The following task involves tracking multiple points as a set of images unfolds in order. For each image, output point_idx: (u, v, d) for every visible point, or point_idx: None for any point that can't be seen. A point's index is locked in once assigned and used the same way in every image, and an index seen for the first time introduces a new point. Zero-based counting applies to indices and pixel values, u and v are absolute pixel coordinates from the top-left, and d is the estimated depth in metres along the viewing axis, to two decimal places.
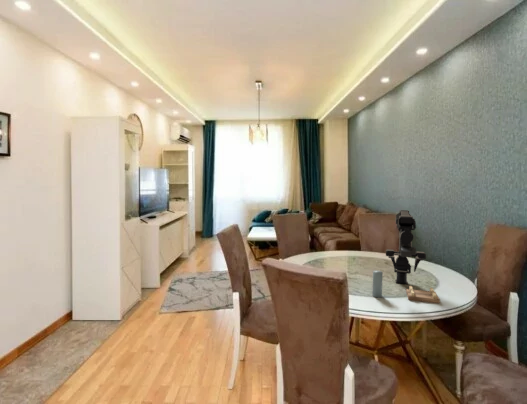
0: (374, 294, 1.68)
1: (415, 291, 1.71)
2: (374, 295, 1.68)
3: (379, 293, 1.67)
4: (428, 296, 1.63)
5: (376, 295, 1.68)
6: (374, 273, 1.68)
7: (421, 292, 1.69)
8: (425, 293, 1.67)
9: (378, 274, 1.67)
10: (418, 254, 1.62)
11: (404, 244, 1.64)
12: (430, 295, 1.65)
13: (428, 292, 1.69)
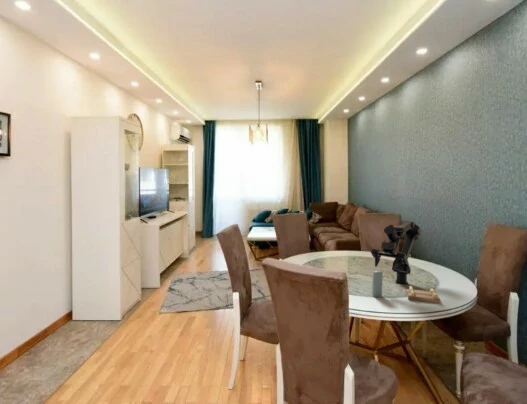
0: (374, 294, 1.68)
1: (415, 291, 1.71)
2: (374, 295, 1.68)
3: (379, 293, 1.67)
4: (428, 296, 1.63)
5: (376, 295, 1.68)
6: (374, 273, 1.68)
7: (421, 292, 1.69)
8: (425, 293, 1.67)
9: (378, 274, 1.67)
10: (398, 252, 1.73)
11: None
12: (430, 295, 1.65)
13: (428, 292, 1.69)
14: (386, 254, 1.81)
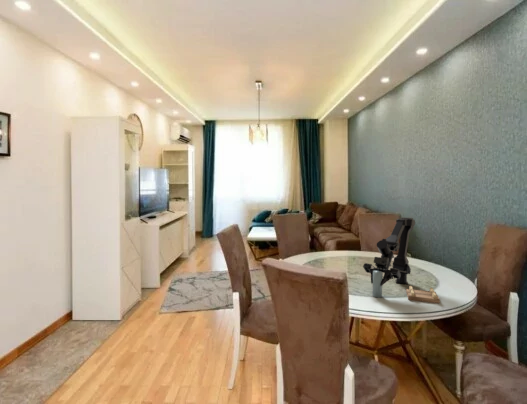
0: (374, 294, 1.68)
1: (415, 291, 1.71)
2: (374, 295, 1.68)
3: (379, 293, 1.67)
4: (428, 296, 1.63)
5: (376, 295, 1.68)
6: (374, 273, 1.68)
7: (421, 292, 1.69)
8: (425, 293, 1.67)
9: (378, 274, 1.67)
10: (391, 268, 1.67)
11: None
12: (430, 295, 1.65)
13: (428, 292, 1.69)
14: (379, 269, 1.75)
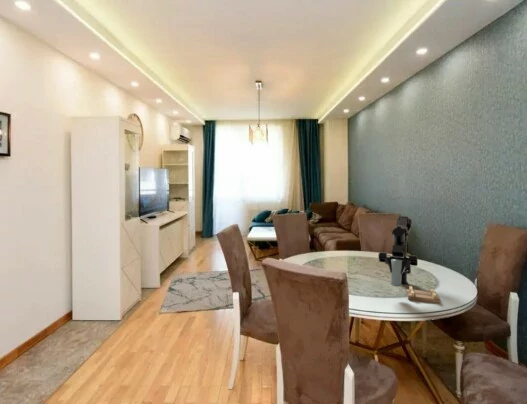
0: (394, 283, 1.64)
1: (415, 291, 1.71)
2: (394, 284, 1.64)
3: (399, 282, 1.64)
4: (428, 296, 1.63)
5: (397, 284, 1.64)
6: (394, 262, 1.64)
7: (421, 292, 1.69)
8: (425, 293, 1.67)
9: (399, 262, 1.63)
10: (410, 255, 1.65)
11: None
12: (430, 295, 1.65)
13: (428, 292, 1.69)
14: (394, 257, 1.72)
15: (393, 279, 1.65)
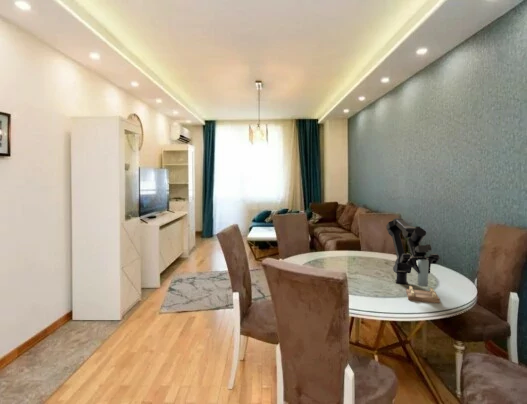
0: (423, 284, 1.64)
1: (415, 291, 1.71)
2: (423, 285, 1.64)
3: (427, 281, 1.64)
4: (428, 296, 1.63)
5: (426, 284, 1.64)
6: (424, 262, 1.63)
7: (421, 292, 1.69)
8: (425, 293, 1.67)
9: (427, 262, 1.63)
10: (432, 254, 1.68)
11: (417, 247, 1.71)
12: (430, 295, 1.65)
13: (428, 292, 1.69)
14: None
15: (422, 280, 1.64)
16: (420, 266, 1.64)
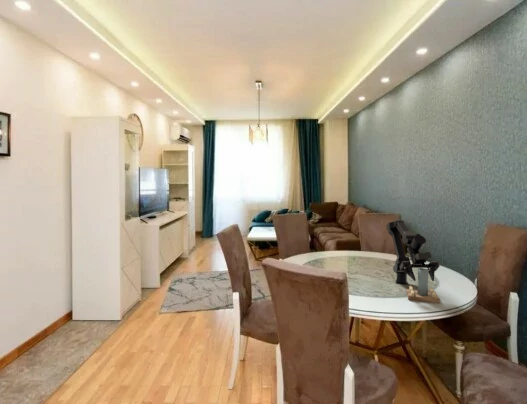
0: (423, 293, 1.64)
1: (415, 291, 1.71)
2: (423, 294, 1.64)
3: (427, 291, 1.65)
4: (428, 296, 1.63)
5: (425, 294, 1.64)
6: (423, 271, 1.63)
7: None
8: None
9: (427, 272, 1.64)
10: (432, 262, 1.68)
11: (416, 254, 1.71)
12: (430, 295, 1.65)
13: (428, 292, 1.69)
14: None
15: (422, 289, 1.64)
16: (420, 275, 1.65)
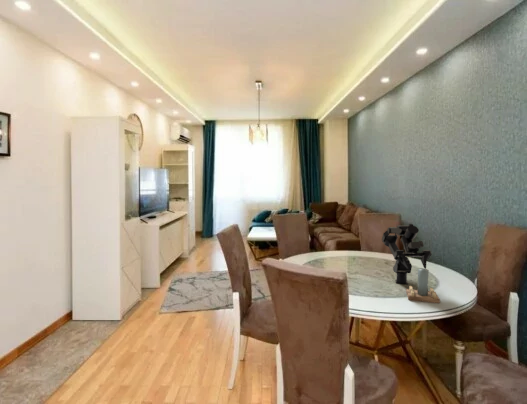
0: (423, 293, 1.64)
1: (415, 291, 1.71)
2: (423, 294, 1.64)
3: (427, 291, 1.65)
4: (428, 296, 1.63)
5: (425, 294, 1.64)
6: (423, 272, 1.63)
7: None
8: None
9: (427, 272, 1.64)
10: (424, 250, 1.77)
11: None
12: (430, 295, 1.65)
13: (428, 292, 1.69)
14: None
15: (422, 289, 1.64)
16: (420, 275, 1.64)
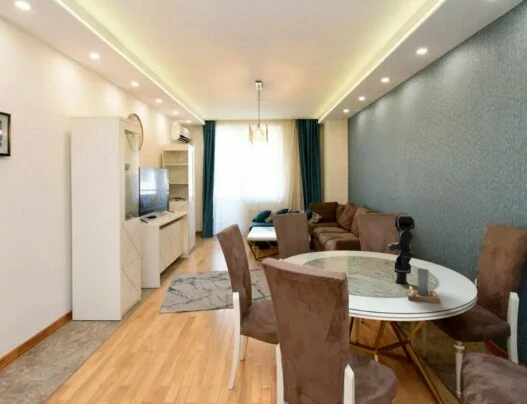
0: (423, 293, 1.64)
1: (415, 291, 1.71)
2: (423, 294, 1.64)
3: (427, 291, 1.65)
4: (428, 296, 1.63)
5: (425, 294, 1.64)
6: (423, 272, 1.63)
7: None
8: None
9: (427, 272, 1.64)
10: (399, 251, 1.74)
11: (399, 241, 1.80)
12: (430, 295, 1.65)
13: (428, 292, 1.69)
14: None
15: (422, 289, 1.64)
16: (420, 275, 1.64)
